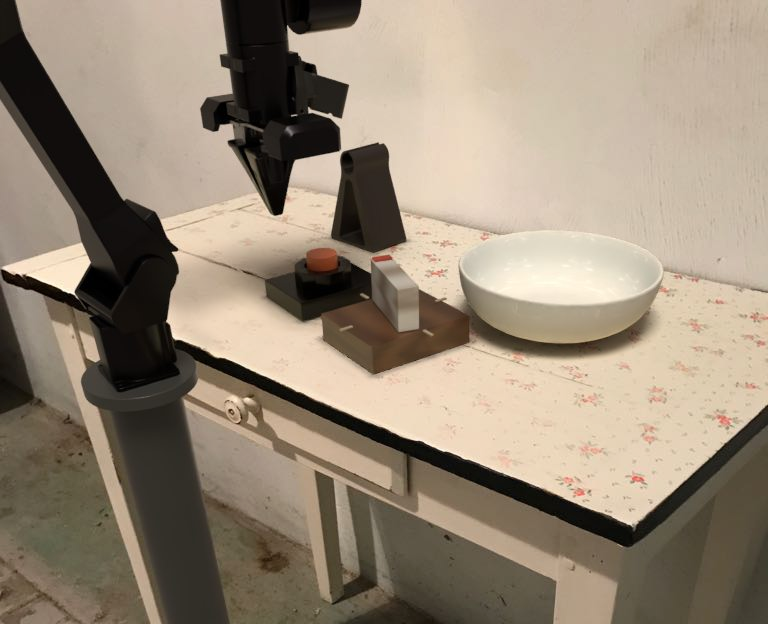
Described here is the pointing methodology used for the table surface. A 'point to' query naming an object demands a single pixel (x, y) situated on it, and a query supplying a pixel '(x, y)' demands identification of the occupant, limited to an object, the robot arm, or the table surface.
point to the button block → (319, 289)
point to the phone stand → (367, 200)
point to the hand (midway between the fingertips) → (276, 214)
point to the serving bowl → (559, 284)
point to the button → (321, 259)
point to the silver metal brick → (395, 293)
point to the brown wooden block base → (394, 333)
